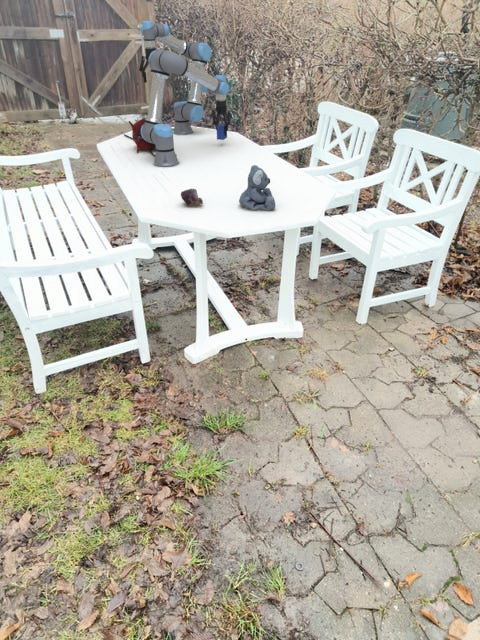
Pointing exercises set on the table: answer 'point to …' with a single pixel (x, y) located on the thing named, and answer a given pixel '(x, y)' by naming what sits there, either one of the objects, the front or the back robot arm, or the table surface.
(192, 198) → the rock
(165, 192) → the table surface
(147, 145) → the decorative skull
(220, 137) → the block
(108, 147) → the table surface
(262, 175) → the koala plush
